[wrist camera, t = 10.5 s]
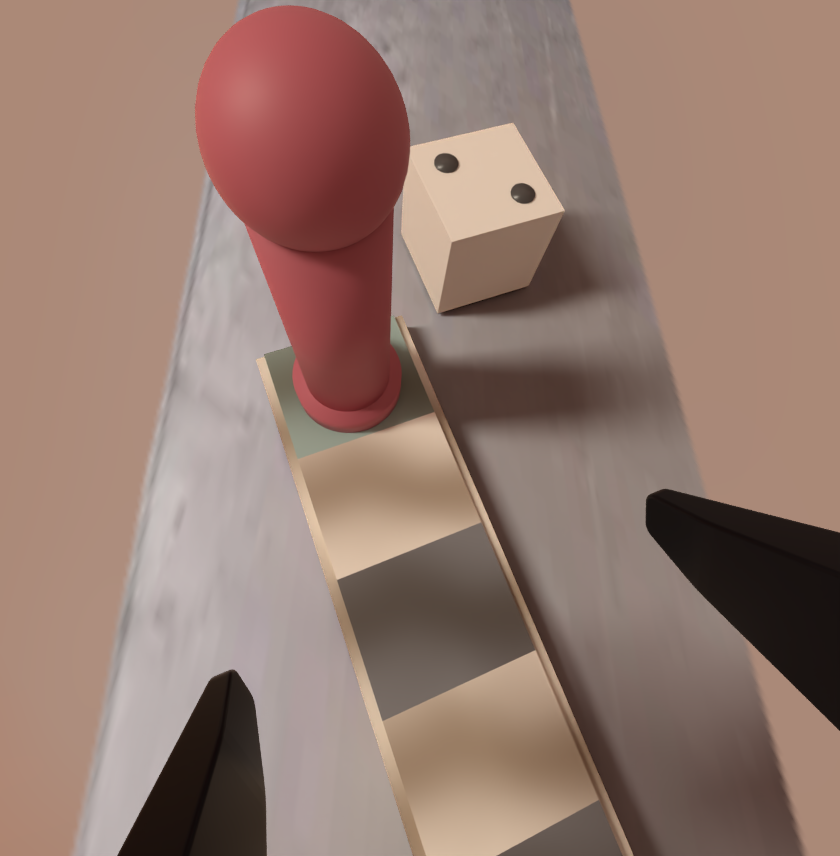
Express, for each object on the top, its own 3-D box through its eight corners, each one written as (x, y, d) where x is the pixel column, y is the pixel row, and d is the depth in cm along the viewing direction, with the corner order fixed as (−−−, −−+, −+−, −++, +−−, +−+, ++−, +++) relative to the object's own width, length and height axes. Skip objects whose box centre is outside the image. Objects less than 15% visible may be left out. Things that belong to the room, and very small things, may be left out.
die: (528, 285, 24) (565, 209, 19) (437, 313, 23) (452, 240, 18) (488, 209, 25) (512, 119, 20) (400, 232, 24) (404, 145, 19)
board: (666, 947, 16) (684, 970, 15) (482, 1063, 14) (489, 1097, 13) (401, 324, 22) (401, 313, 21) (260, 367, 21) (254, 357, 20)
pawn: (415, 413, 20) (472, 98, 7) (315, 447, 19) (174, 164, 6) (380, 327, 21) (374, -75, 8) (284, 356, 20) (114, -39, 7)
